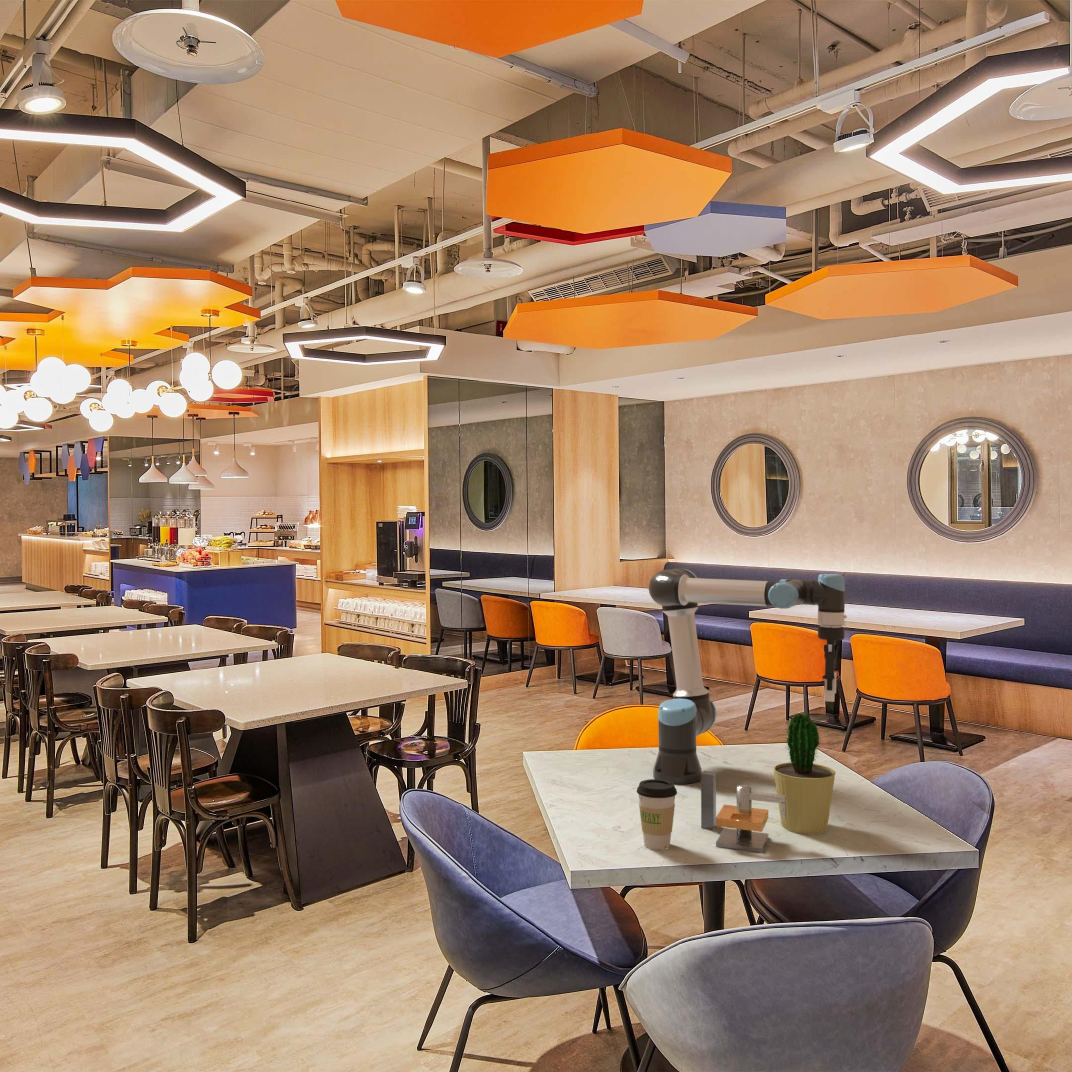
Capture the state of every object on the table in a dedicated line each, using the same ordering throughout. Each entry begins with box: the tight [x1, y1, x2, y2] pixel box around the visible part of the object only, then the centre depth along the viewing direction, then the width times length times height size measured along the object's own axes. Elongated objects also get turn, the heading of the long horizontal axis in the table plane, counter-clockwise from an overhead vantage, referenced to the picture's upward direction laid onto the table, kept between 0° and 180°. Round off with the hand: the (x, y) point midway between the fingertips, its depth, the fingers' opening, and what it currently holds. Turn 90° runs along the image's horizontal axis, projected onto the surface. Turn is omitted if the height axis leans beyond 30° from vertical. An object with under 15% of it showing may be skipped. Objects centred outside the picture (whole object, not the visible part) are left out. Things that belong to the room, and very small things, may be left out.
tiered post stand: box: [715, 784, 786, 854], centre depth 212 cm, size 16×11×13 cm
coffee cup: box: [636, 778, 678, 851], centre depth 211 cm, size 10×10×15 cm
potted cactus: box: [773, 712, 836, 835], centre depth 224 cm, size 15×15×30 cm
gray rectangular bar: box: [700, 770, 717, 830], centre depth 224 cm, size 3×3×14 cm
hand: (830, 697), depth 258 cm, fingers open, 13 cm apart
